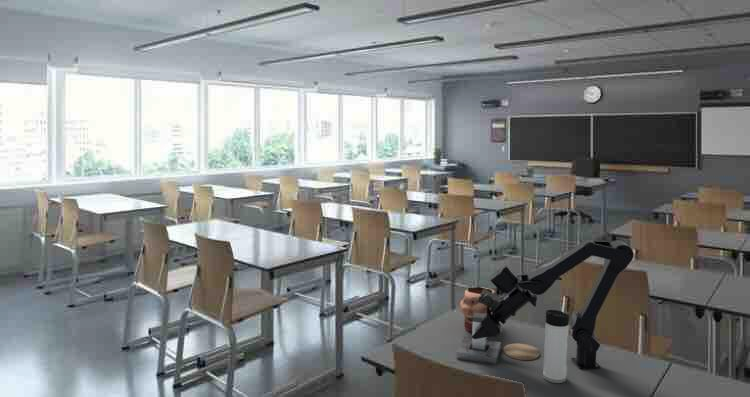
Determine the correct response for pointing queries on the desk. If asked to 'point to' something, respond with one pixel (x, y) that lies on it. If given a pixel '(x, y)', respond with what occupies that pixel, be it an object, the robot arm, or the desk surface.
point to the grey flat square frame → (480, 356)
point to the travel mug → (556, 346)
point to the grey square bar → (476, 343)
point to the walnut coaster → (521, 351)
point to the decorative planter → (472, 305)
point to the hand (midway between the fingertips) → (475, 332)
